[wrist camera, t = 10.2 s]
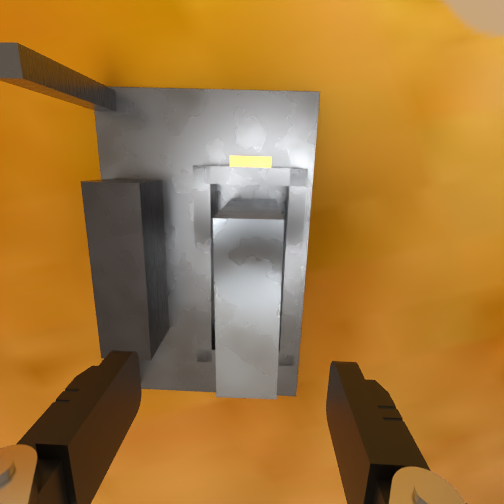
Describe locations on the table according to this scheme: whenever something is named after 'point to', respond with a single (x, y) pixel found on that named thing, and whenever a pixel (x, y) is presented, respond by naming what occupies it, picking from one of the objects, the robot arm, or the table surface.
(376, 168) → the table surface
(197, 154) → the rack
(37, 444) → the robot arm
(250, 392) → the grey rectangular block
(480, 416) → the table surface
